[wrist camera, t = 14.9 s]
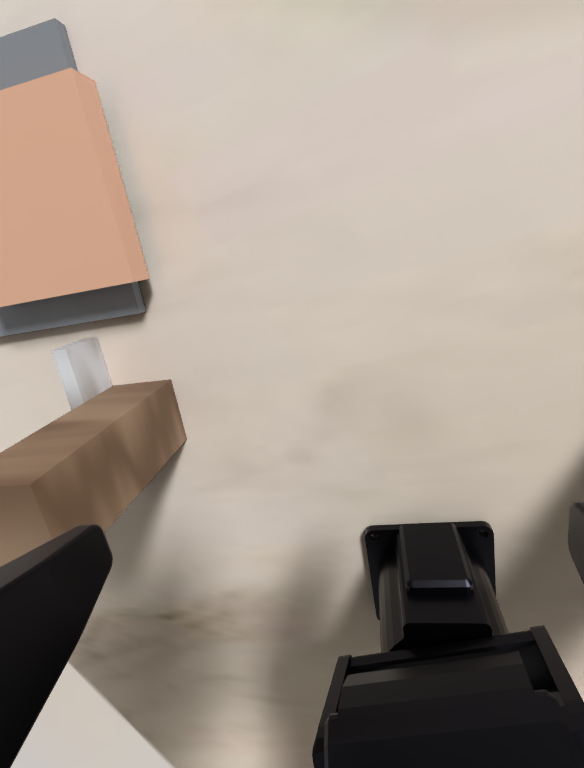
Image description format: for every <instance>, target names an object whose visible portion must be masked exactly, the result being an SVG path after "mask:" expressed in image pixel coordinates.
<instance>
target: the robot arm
mask: <svg viewBox="0 0 584 768" xmlns="http://www.w3.org/2000/svg"><path fill="white" fill-rule="evenodd" d="M481 530H486V531H485V532H484V533H478V532H479V531H481ZM372 534H376V535H378V536H377V537H372V536H371V535H372ZM365 541H366V548H367V554H368V561H369V568H370V575H371V581H372V588H373V595H374V602H375V608H376V615H377V618H378V620H379V621H380V638H381V653H376V654H369V655H363V656H356V657H352V656H351V655H346V656H339V658H338V661H337V664H336V668H335V671H334V675H333V678H332V682H331V685H330V689H329V692H328V696H327V699H326V702H325V706H324V709H323V713H322V716H321V720H320V723H319V727H318V732H317V735H316V739H315V742H314V746H313V754H312V756H313V763H314V768H584V702H583V700H582V698H581V696H580V694H579V692H578V690H577V688H576V686H575V684H574V682H573V681H572V679H571V677H570V675H569V673H568V671H567V669H566V667H565V665H564V663H563V661H562V659H561V657H560V655H559V654H558V652H557V650H556V648H555V646H554V644H553V642H552V640H551V638H550V636H549V634H548V632H547V630H546V628H545V626H544V625H543V626H536V627H530V630H529V631H522V632H516V633H509V632H508V630H507V627H506V624H505V621H504V618H503V616H502V613H501V610H500V607H499V605H498V602H497V599H496V585H495V557H494V533H493V530H492V528H491V526H490V525H489V523H487V522H484V521H472V522H444V523H420V524H399V525H375V526H369V527H368V528H367V529H366V530H365ZM568 544H569V550H570V553H571V556H572V559H573V561H574V563H575V566H576V568H577V570H578V572H579V575H580V577H581V579H582V581H583V584H584V501H574V502H573V503H571V505H570V508H569V533H568ZM112 561H113V558H112V553H111V550H110V548H109V545H108V542H107V540H106V537H105V534H104V532H103V529H102V528H101V527H100V526H99V525H97V524H86V525H79V526H76V527H74V528H73V529H71V530H69V531H67V532H65V533H63V534H61V535H59V536H57V537H56V538H54V539H52V540H50V541H48V542H46V543H44V544H42V545H40V546H39V547H37V548H35V549H33V550H31V551H29V552H27V553H25V554H23V555H22V556H20V557H18V558H16V559H14V560H12V561H10V562H8V563H6V564H5V565H3V566H1V567H0V768H10V767H11V765H12V764H13V762H14V760H15V758H16V756H17V754H18V752H19V751H20V749H21V747H22V745H23V743H24V741H25V740H26V738H27V736H28V734H29V732H30V730H31V728H32V727H33V725H34V723H35V721H36V719H37V717H38V716H39V713H40V712H41V710H42V708H43V706H44V704H45V703H46V701H47V699H48V697H49V695H50V693H51V691H52V690H53V688H54V686H55V684H56V682H57V681H58V679H59V677H60V675H61V673H62V671H63V669H64V668H65V666H66V664H67V662H68V660H69V658H70V656H71V655H72V653H73V651H74V649H75V647H76V645H77V643H78V641H79V639H80V637H81V635H82V633H83V631H84V628H85V626H86V624H87V622H88V619H89V617H90V615H91V613H92V610H93V608H94V606H95V604H96V601H97V599H98V597H99V594H100V592H101V590H102V588H103V585H104V583H105V581H106V578H107V576H108V574H109V572H110V569H111V567H112Z"/></svg>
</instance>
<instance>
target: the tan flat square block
mask: <svg viewBox="0 0 584 768" xmlns="http://www.w3.org/2000/svg"><path fill="white" fill-rule="evenodd" d="M146 279H150V278H149V274H148V270H147V267H146V263H145V260H144V256H143V252H142V249H141V245H140V241H139V238H138V234H137V231H136V227H135V223H134V220H133V216H132V213H131V209H130V205H129V202H128V198H127V195H126V191H125V187H124V184H123V180H122V177H121V173H120V169H119V166H118V162H117V159H116V155H115V151H114V148H113V144H112V140H111V137H110V133H109V130H108V126H107V122H106V119H105V115H104V112H103V108H102V104H101V101H100V97H99V94H98V90H97V86H96V83H95V81H94V80H92V79H90V78H89V77H87V76H85V75H83V74H82V73H80V72H78V71H76V70H74V69H73V68H68V69H65V70H62V71H59V72H56V73H53V74H50V75H46V76H43V77H40V78H37V79H34V80H31V81H28V82H25V83H22V84H18V85H15V86H12V87H9V88H6V89H3V90H0V307H3V306H9V305H14V304H19V303H25V302H30V301H35V300H41V299H46V298H51V297H57V296H62V295H67V294H73V293H78V292H83V291H89V290H94V289H99V288H105V287H110V286H115V285H121V284H126V283H131V282H137V281H141V280H146Z"/></svg>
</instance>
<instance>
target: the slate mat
mask: <svg viewBox="0 0 584 768" xmlns="http://www.w3.org/2000/svg"><path fill="white" fill-rule="evenodd" d="M68 68H73V69H74V70H76V71H78V70H77V67H76V63H75V60H74V56H73V53H72V49H71V46H70V42H69V39H68V35H67V32H66V28H65V25H64V24H62V23H61V22H59V21H58V20H56V19H55V18H54V19H51V20H48V21H46V22H43V23H40V24H37V25H34V26H31V27H28V28H26V29H23V30H20V31H17V32H14V33H11V34H8V35H6V36H3V37H0V90H3V89H6V88H9V87H12V86H15V85H18V84H22V83H25V82H28V81H31V80H34V79H37V78H40V77H43V76H46V75H50V74H53V73H56V72H59V71H62V70H65V69H68ZM145 311H146V309H145V306H144V302H143V299H142V295H141V292H140V288H139V285H138V281H137V282H131V283H126V284H121V285H115V286H110V287H105V288H99V289H94V290H89V291H83V292H78V293H73V294H67V295H62V296H57V297H51V298H46V299H41V300H35V301H30V302H25V303H19V304H14V305H9V306H3V307H0V337H1V336H7V335H13V334H19V333H25V332H31V331H37V330H43V329H49V328H55V327H61V326H67V325H73V324H79V323H85V322H91V321H97V320H103V319H109V318H115V317H121V316H127V315H133V314H139V313H142V312H145Z"/></svg>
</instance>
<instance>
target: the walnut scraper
mask: <svg viewBox="0 0 584 768" xmlns="http://www.w3.org/2000/svg"><path fill="white" fill-rule="evenodd" d="M51 353H52V355H53V358H54V361H55V364H56V367H57V370H58V373H59V375H60V378H61V381H62V384H63V387H64V390H65V393H66V395H67V398H68V401H69V404H70V407H71V411H70V412H68V413H66V414H65V415H63V416H61V417H60V418H58V419H56V420H55V421H53V422H51V423H50V424H48V425H46V426H45V427H43V428H41V429H40V430H38V431H36V432H35V433H33V434H31V435H30V436H28V437H26V438H25V439H23V440H21V441H20V442H18V443H16V444H15V445H13V446H11V447H10V448H8V449H6V450H5V451H3V452H1V453H0V567H1V566H3V565H5V564H6V563H8V562H10V561H12V560H14V559H16V558H18V557H20V556H22V555H23V554H25V553H27V552H29V551H31V550H33V549H35V548H37V547H39V546H40V545H42V544H44V543H46V542H48V541H50V540H52V539H54V538H56V537H57V536H59V535H61V534H63V533H65V532H67V531H69V530H71V529H73V528H74V527H76V526H79V525H86V524H97V525H99V526H100V527H101V528H102V529H103V532H104V533H105V532H106V531H107V530H108V528H109V527H110V526H111V525H112V524H113V523H114V522H115V520H116V519H117V518H118V517H119V516H120V515H121V514H122V512H123V511H124V510H125V509H126V508H127V507H128V506H129V504H130V503H131V502H132V501H133V500H134V499H135V498H136V496H137V495H138V494H139V493H140V492H141V491H142V490H143V488H144V487H145V486H146V485H147V484H148V483H149V482H150V480H151V479H152V478H153V477H154V476H155V475H156V474H157V472H158V471H159V470H160V469H161V468H162V467H163V466H164V464H165V463H166V462H167V461H168V460H169V459H170V458H171V456H172V455H173V454H174V453H175V452H176V451H177V450H178V448H179V447H180V446H181V445H182V444H183V443H184V442H185V440H186V439H187V438H186V434H185V430H184V427H183V423H182V419H181V415H180V411H179V408H178V404H177V400H176V396H175V392H174V389H173V385H172V381H171V380H162V381H153V382H144V383H135V384H126V385H117V386H112V383H111V380H110V376H109V373H108V370H107V367H106V364H105V360H104V357H103V354H102V351H101V348H100V344H99V341H98V338H97V337H93V338H86V339H82V340H79V341H77V342H74V343H71V344H68V345H66V346H63V347H60V348H58V349H55V350H52V351H51Z"/></svg>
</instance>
